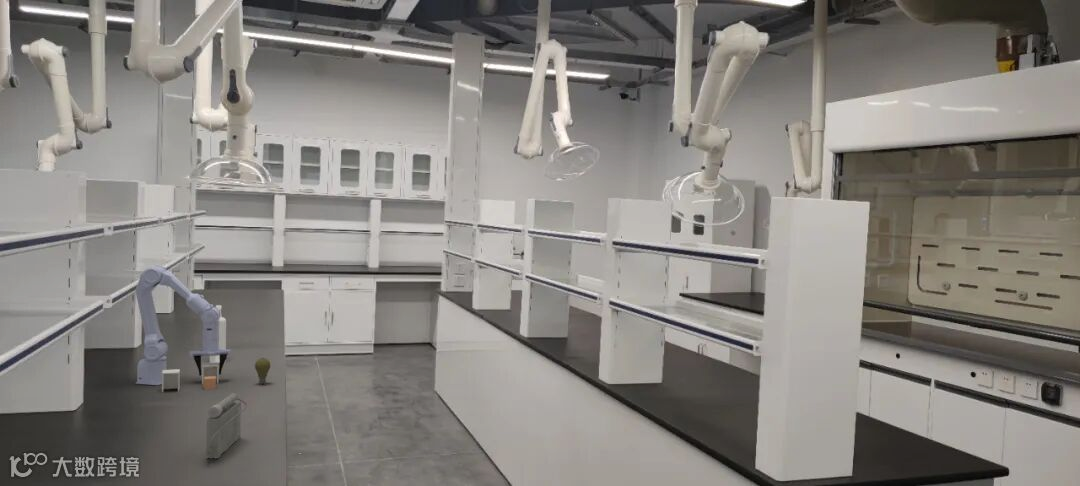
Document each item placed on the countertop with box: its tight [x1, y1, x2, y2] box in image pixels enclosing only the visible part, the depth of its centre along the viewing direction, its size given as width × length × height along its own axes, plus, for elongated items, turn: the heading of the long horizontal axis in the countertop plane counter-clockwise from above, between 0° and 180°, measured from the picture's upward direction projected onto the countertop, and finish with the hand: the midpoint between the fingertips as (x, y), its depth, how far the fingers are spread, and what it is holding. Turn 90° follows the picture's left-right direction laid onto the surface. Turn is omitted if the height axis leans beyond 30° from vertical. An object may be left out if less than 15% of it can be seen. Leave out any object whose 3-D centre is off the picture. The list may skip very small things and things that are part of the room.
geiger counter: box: [205, 392, 248, 459], centre depth 209 cm, size 14×6×25 cm
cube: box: [203, 376, 217, 390], centre depth 279 cm, size 4×4×4 cm
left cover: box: [161, 368, 181, 393], centre depth 274 cm, size 6×6×7 cm
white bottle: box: [209, 304, 227, 365], centre depth 323 cm, size 7×12×25 cm, turn 19°
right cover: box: [201, 362, 220, 385], centre depth 288 cm, size 6×6×7 cm
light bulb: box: [254, 357, 271, 385], centre depth 288 cm, size 6×6×10 cm
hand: (210, 374), depth 288 cm, fingers open, 6 cm apart
